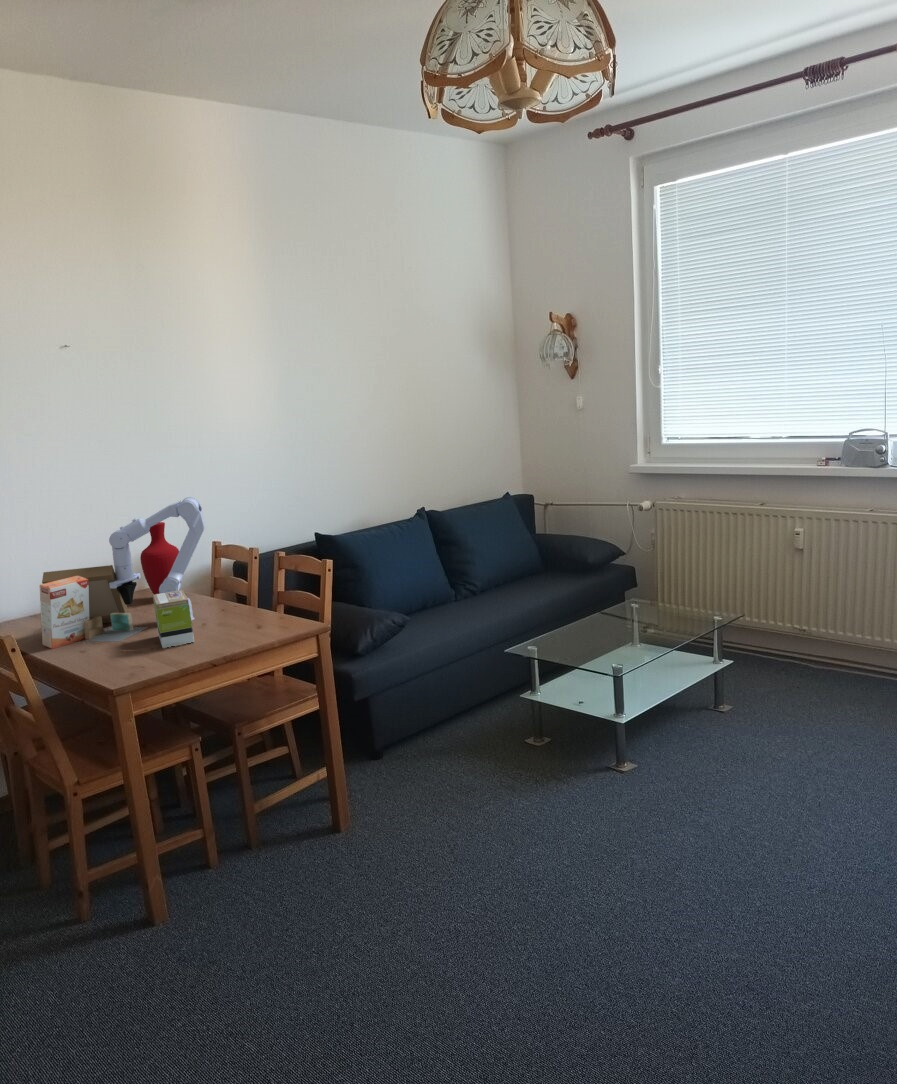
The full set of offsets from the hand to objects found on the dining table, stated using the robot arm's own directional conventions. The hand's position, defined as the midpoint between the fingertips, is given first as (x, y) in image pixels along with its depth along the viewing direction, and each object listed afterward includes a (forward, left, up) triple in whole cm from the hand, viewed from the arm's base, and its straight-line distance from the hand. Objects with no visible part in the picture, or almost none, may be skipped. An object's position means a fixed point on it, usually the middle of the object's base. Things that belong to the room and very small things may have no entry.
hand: (128, 604), depth 291 cm
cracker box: (+12, +18, -8) cm, 23 cm away
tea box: (-26, +14, -9) cm, 31 cm away
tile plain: (+6, +12, -8) cm, 16 cm away
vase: (+11, -38, -9) cm, 41 cm away
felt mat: (0, +9, -8) cm, 12 cm away
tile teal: (0, +5, -8) cm, 9 cm away
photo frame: (+18, -7, -3) cm, 20 cm away
